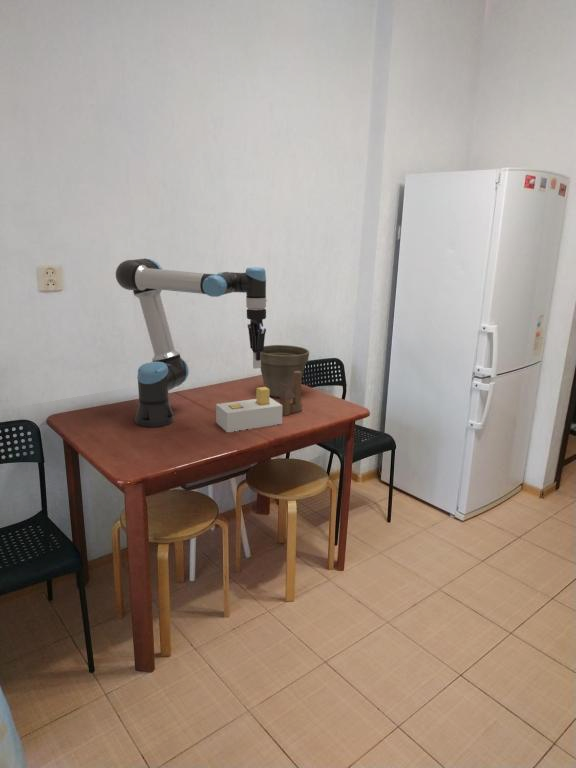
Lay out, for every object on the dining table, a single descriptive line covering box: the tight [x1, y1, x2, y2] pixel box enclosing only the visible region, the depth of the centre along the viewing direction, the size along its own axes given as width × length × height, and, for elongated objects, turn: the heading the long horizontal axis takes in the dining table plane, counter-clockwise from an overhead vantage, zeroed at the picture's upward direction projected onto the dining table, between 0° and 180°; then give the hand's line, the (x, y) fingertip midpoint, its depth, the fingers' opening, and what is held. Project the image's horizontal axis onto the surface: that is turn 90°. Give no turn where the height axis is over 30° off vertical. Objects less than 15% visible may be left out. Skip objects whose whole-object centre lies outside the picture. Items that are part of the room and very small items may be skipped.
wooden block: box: [278, 371, 303, 417], centre depth 231 cm, size 4×11×18 cm, turn 135°
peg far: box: [255, 386, 270, 405], centre depth 219 cm, size 4×4×8 cm
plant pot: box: [260, 344, 310, 398], centre depth 257 cm, size 25×25×22 cm
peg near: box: [229, 404, 242, 409], centre depth 215 cm, size 4×4×8 cm
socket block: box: [215, 396, 283, 434], centre depth 218 cm, size 24×12×8 cm, turn 118°
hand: (257, 367), depth 213 cm, fingers closed
